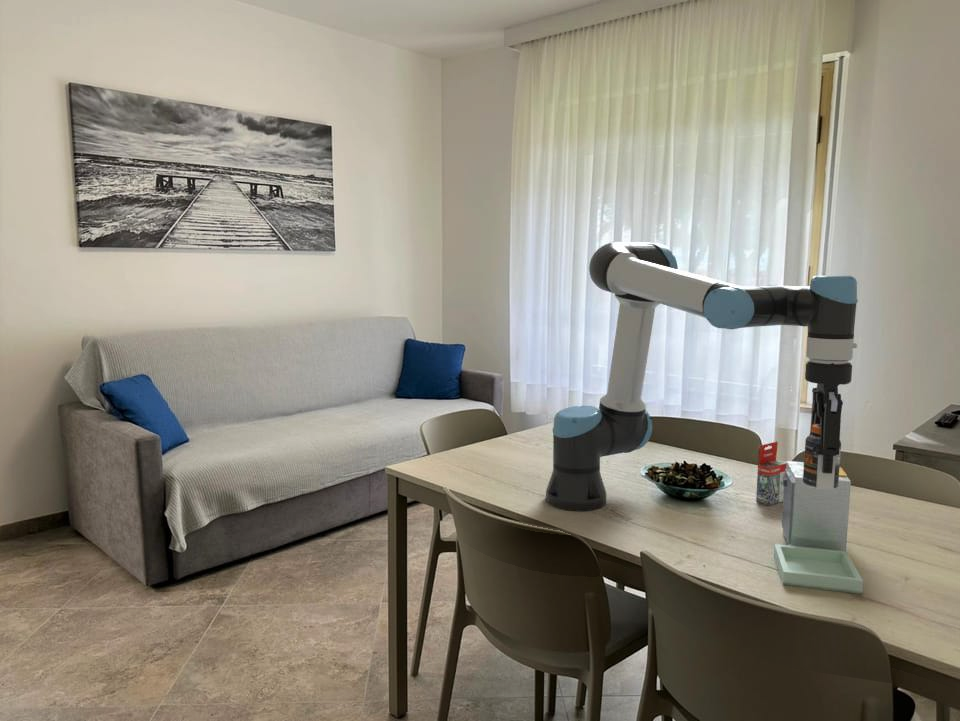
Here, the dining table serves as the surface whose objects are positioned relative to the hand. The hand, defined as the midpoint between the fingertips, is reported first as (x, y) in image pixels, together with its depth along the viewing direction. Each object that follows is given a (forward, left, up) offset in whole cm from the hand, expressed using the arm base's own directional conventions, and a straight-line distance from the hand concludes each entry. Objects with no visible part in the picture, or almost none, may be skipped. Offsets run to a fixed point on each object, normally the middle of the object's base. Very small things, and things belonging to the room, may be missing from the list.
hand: (821, 483), depth 124 cm
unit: (+2, +15, -18) cm, 23 cm away
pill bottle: (0, 0, 0) cm, 1 cm away
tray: (0, 0, -18) cm, 18 cm away
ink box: (-3, +41, -18) cm, 45 cm away
